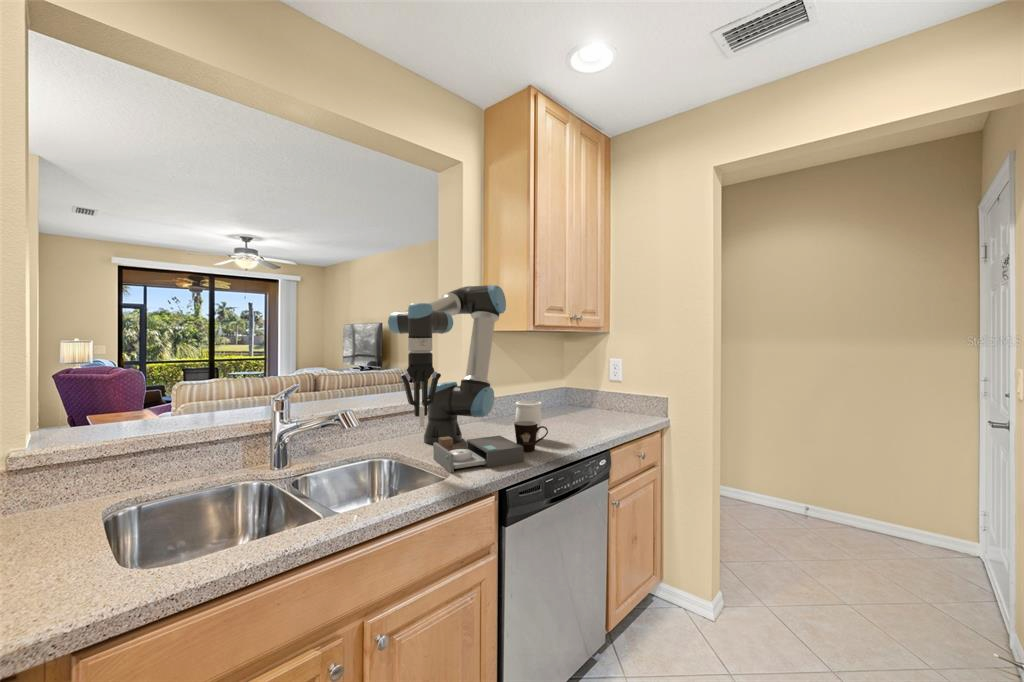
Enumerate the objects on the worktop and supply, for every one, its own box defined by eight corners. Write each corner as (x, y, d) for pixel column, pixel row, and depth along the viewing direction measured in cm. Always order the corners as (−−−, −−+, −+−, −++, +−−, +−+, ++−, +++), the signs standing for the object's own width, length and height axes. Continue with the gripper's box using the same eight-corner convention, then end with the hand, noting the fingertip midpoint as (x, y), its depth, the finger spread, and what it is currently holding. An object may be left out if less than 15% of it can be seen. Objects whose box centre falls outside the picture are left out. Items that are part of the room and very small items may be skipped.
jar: (510, 439, 181) (510, 402, 181) (528, 435, 188) (528, 399, 188) (528, 443, 173) (528, 405, 173) (547, 439, 180) (546, 402, 180)
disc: (466, 453, 154) (466, 447, 154) (475, 459, 147) (475, 453, 147) (444, 456, 151) (444, 450, 150) (452, 463, 143) (452, 456, 143)
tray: (432, 459, 153) (432, 442, 153) (467, 454, 159) (467, 438, 159) (449, 473, 138) (449, 455, 138) (487, 467, 144) (487, 449, 144)
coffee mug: (510, 451, 163) (510, 424, 163) (520, 446, 170) (520, 419, 170) (539, 455, 157) (539, 427, 157) (549, 449, 165) (548, 422, 165)
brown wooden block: (438, 454, 159) (438, 437, 159) (449, 452, 161) (449, 436, 161) (442, 457, 156) (442, 440, 156) (453, 455, 158) (453, 438, 158)
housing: (466, 454, 160) (466, 438, 159) (499, 449, 166) (499, 434, 165) (487, 467, 143) (487, 451, 143) (523, 462, 149) (523, 446, 149)
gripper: (402, 353, 136) (403, 430, 136) (444, 352, 142) (444, 426, 142) (397, 352, 142) (397, 426, 143) (436, 351, 148) (437, 422, 149)
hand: (421, 426), depth 142 cm, fingers closed
